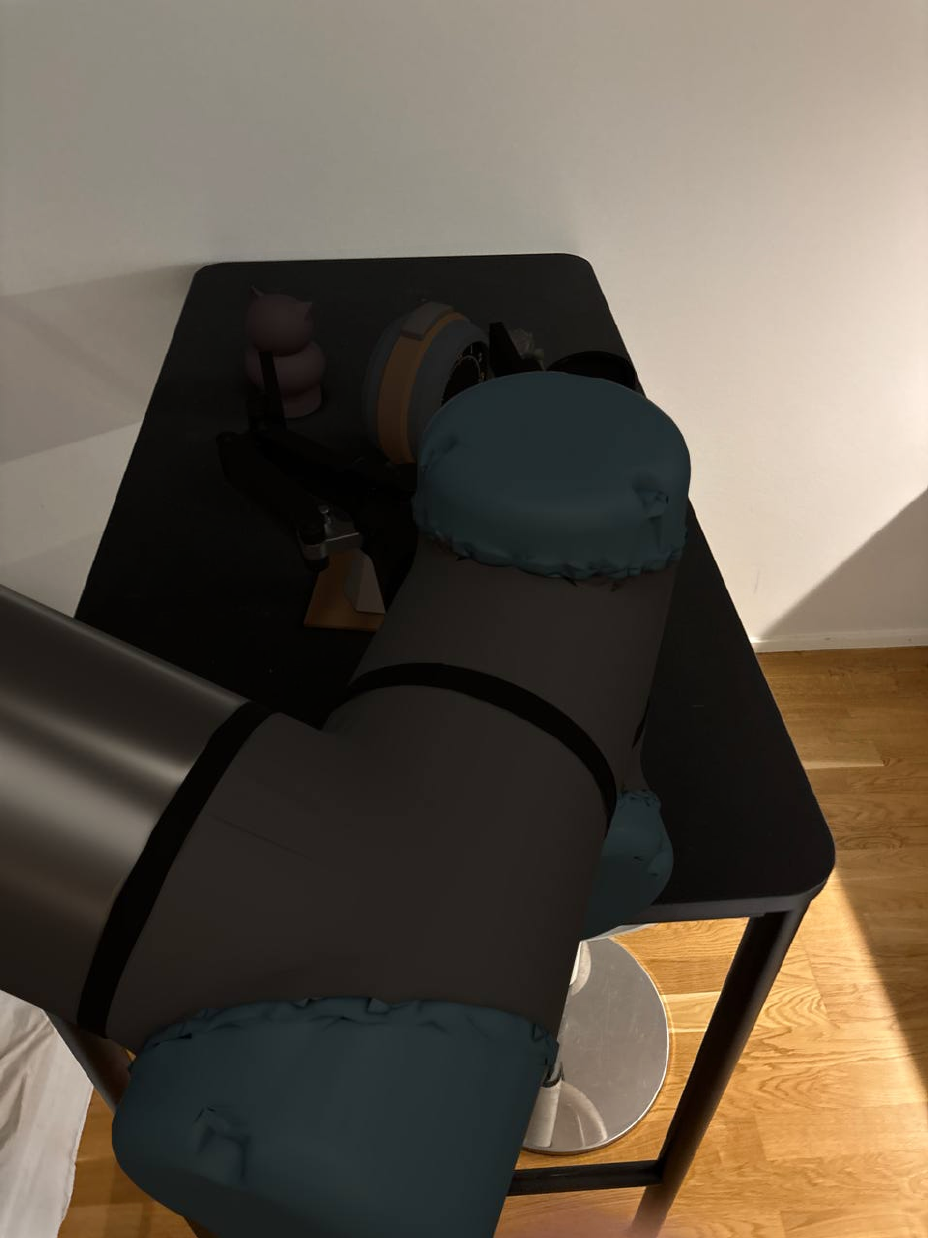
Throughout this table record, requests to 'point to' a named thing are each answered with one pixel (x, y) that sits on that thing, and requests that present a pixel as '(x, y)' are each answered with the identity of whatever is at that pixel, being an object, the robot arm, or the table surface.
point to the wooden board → (338, 600)
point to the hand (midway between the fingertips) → (383, 356)
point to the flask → (363, 585)
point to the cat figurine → (285, 349)
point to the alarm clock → (419, 376)
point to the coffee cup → (597, 367)
